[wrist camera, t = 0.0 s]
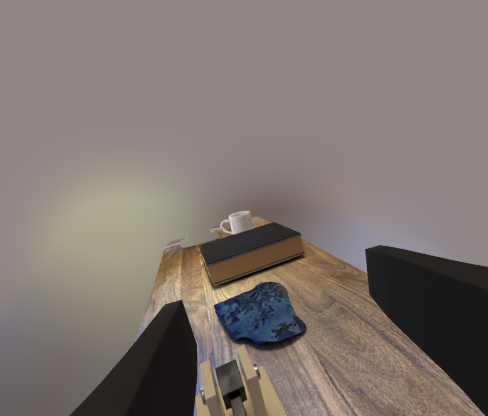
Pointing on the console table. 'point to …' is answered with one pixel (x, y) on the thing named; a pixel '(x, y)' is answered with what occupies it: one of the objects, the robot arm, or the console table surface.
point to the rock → (260, 314)
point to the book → (249, 252)
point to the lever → (232, 388)
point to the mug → (239, 222)
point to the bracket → (256, 386)
